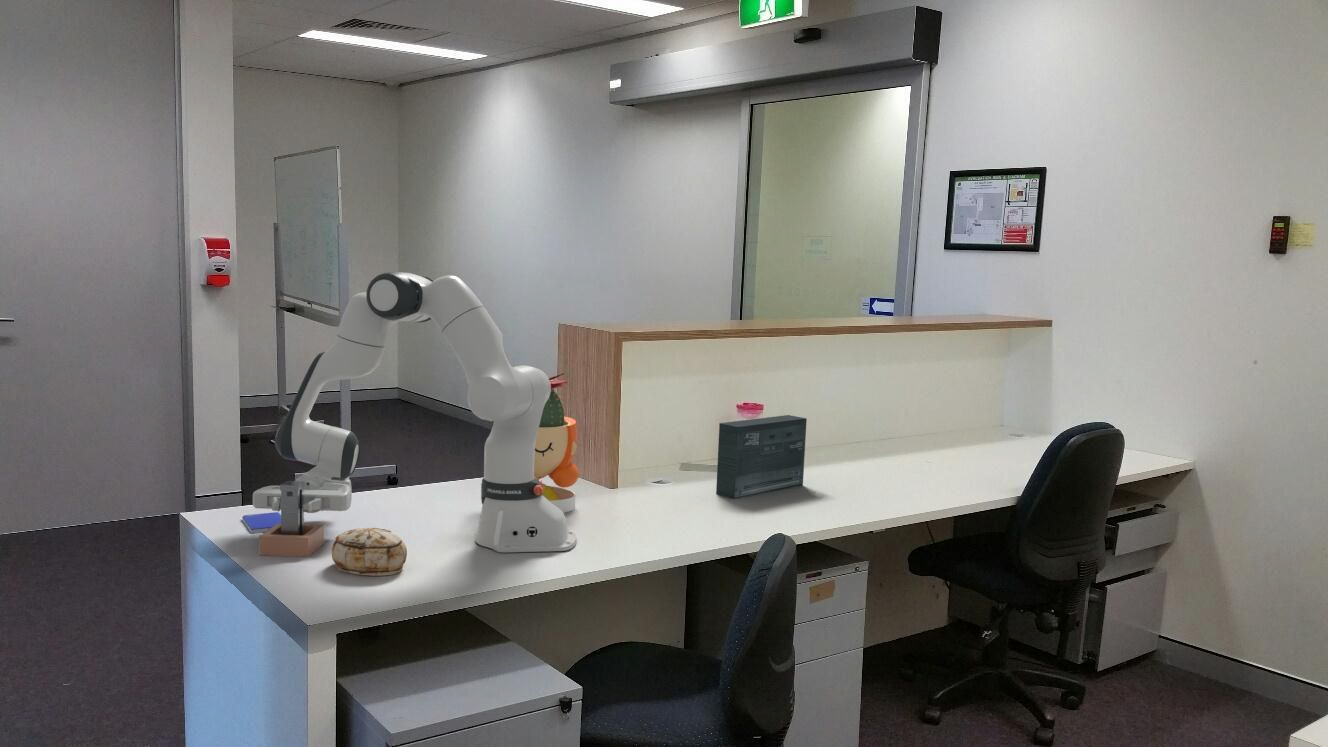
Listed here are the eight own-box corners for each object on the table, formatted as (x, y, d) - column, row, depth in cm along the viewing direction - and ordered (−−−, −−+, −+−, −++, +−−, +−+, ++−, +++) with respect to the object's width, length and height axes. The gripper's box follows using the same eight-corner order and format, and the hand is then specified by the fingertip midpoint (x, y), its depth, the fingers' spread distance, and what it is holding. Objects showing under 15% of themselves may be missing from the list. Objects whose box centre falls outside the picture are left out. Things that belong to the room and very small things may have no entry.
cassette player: (784, 481, 296) (788, 414, 294) (802, 485, 291) (806, 418, 289) (716, 494, 276) (719, 423, 274) (734, 499, 271) (737, 426, 269)
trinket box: (404, 578, 196) (404, 539, 195) (324, 579, 193) (324, 539, 192) (410, 557, 209) (410, 521, 208) (336, 558, 206) (336, 521, 205)
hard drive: (242, 515, 232) (251, 528, 221) (279, 511, 236) (290, 524, 226) (242, 521, 232) (251, 535, 221) (279, 518, 236) (290, 531, 226)
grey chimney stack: (304, 541, 213) (304, 481, 211) (298, 547, 209) (298, 485, 208) (286, 541, 213) (286, 480, 211) (280, 546, 209) (280, 484, 208)
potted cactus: (562, 517, 245) (566, 376, 241) (479, 508, 251) (482, 370, 246) (591, 498, 266) (595, 367, 262) (514, 490, 271) (517, 362, 267)
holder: (323, 542, 216) (323, 524, 216) (308, 556, 206) (308, 537, 206) (277, 541, 216) (277, 523, 215) (259, 555, 206) (259, 536, 206)
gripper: (265, 476, 222) (240, 491, 209) (357, 479, 223) (339, 494, 209) (265, 504, 223) (241, 520, 209) (357, 507, 224) (339, 523, 210)
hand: (290, 507), depth 209 cm, fingers open, 5 cm apart
